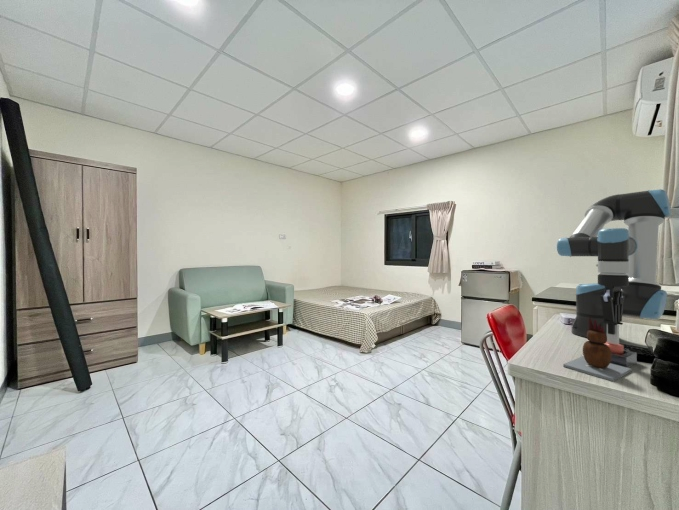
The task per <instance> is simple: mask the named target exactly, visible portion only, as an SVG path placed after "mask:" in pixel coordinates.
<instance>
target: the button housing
mask: <svg viewBox="0 0 679 510" xmlns="http://www.w3.org/2000/svg"><path fill="white" fill-rule="evenodd" d="M637 357H638V353H637V352H636V351H631V350H627V349H624V354H623V355H619V354H615V353H612V359H611V362H610V363H611V364H615V365H619V366H623V367H627V368H631V367H632V366H634V365H636V364H637V363H638V362H637V361H638V360H637V359H638V358H637Z"/></svg>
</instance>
